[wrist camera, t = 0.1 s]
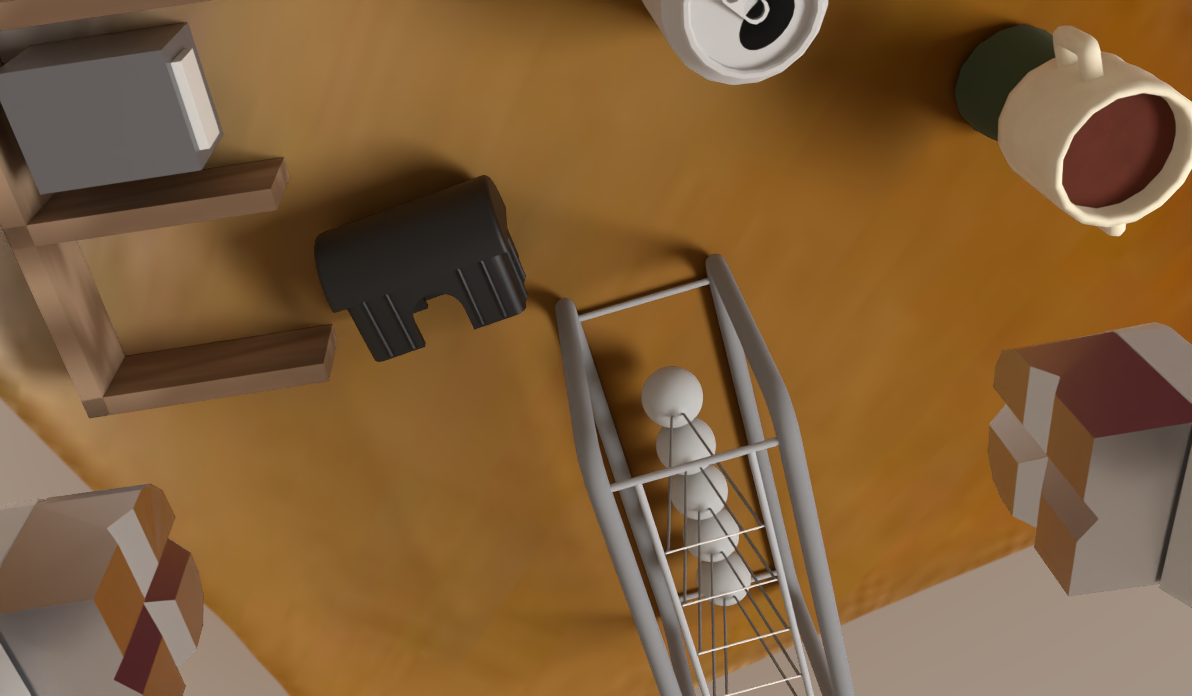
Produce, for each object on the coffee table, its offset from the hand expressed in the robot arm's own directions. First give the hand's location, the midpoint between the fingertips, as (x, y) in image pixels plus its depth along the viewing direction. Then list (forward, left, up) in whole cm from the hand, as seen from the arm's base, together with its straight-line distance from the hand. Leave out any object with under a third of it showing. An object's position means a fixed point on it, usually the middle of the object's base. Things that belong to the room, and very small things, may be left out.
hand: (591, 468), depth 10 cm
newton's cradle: (+37, +7, -48) cm, 61 cm away
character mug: (+14, +27, -48) cm, 57 cm away
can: (+5, +10, -48) cm, 49 cm away
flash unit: (+8, -21, -48) cm, 53 cm away
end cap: (+19, -7, -48) cm, 52 cm away
